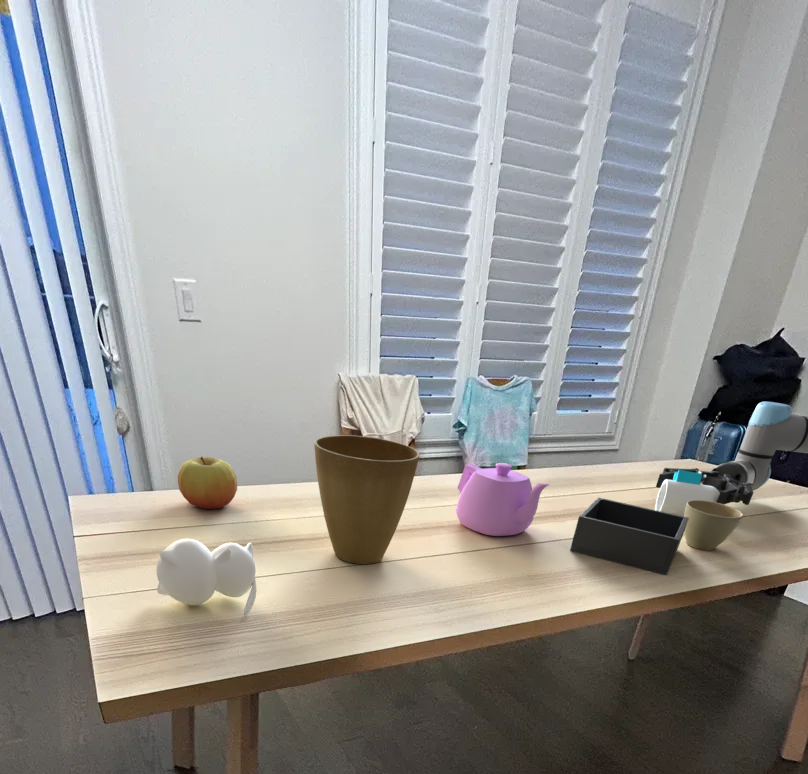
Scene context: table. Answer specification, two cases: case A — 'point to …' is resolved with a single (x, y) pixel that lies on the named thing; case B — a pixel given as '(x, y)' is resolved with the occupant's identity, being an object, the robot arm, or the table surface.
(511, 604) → the table surface
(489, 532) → the teapot
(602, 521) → the open storage box
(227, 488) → the apple
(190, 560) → the cat figurine
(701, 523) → the flower pot
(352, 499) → the plant pot
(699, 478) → the mug
